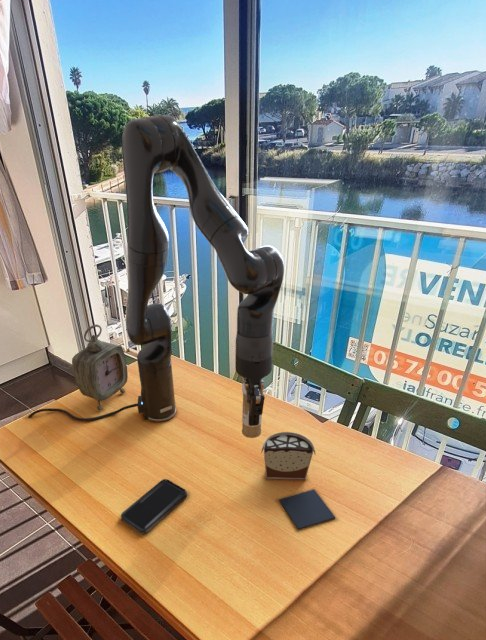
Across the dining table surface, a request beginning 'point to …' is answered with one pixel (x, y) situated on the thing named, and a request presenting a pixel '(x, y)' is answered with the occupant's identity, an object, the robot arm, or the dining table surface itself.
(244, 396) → the sprinkles bottle
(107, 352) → the tabletop clock
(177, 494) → the phone
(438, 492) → the dining table surface
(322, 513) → the slate coaster
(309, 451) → the food container
